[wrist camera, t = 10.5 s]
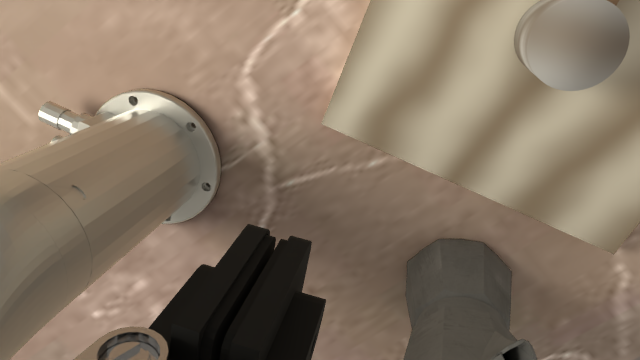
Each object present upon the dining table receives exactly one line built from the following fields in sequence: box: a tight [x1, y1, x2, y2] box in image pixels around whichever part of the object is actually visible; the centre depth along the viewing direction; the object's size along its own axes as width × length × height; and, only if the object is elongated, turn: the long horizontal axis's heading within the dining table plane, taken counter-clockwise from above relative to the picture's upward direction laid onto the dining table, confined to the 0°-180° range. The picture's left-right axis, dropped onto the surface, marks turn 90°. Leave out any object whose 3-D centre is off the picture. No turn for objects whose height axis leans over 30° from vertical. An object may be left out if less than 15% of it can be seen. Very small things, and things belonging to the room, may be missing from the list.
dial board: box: [321, 0, 640, 254], centre depth 31 cm, size 24×24×2 cm
